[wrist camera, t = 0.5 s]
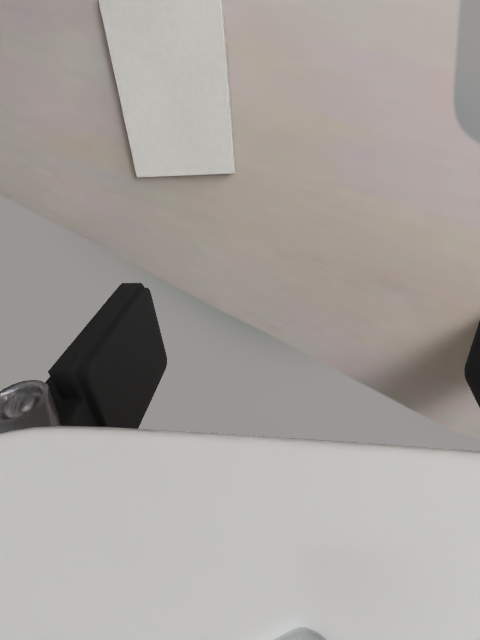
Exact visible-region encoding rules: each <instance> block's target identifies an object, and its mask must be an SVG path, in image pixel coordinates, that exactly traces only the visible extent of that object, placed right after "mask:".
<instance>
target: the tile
mask: <svg viewBox="0 0 480 640" xmlns="http://www.w3.org/2000/svg"><path fill="white" fill-rule="evenodd" d="M98 1H99V5H100V10H101V14H102V19H103V24H104V28H105V33H106V38H107V42H108V47H109V51H110V56H111V61H112V65H113V70H114V74H115V79H116V84H117V88H118V93H119V97H120V102H121V107H122V111H123V116H124V120H125V125H126V130H127V134H128V139H129V143H130V148H131V153H132V157H133V162H134V166H135V171H136V176H137V178H139V177H163V176H186V175H210V174H233V173H235V172H236V163H235V149H234V136H233V123H232V110H231V97H230V84H229V70H228V57H227V44H226V31H225V18H224V4H223V0H98Z"/></svg>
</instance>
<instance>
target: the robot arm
mask: <svg viewBox="0 0 480 640" xmlns="http://www.w3.org/2000/svg"><path fill="white" fill-rule="evenodd" d="M166 365H167V357H166V352H165V349H164V344H163V341H162V337H161V333H160V329H159V325H158V321H157V317H156V313H155V309H154V305H153V301H152V297H151V293H150V290H149V289H148V288H144V286H143V284H141V283H122V284H121V285H120V286H119V287H118V288H117V290H116V291H115V292H114V293H113V294H112V296H111V297H110V298H109V299H108V300H107V302H106V303H105V304H104V305H103V306H102V307H101V309H100V310H99V311H98V313H97V314H96V315H95V316H94V317H93V318H92V320H91V321H90V322H89V323H88V324H87V326H86V327H85V328H84V329H83V330H82V332H81V333H80V334H79V335H78V336H77V338H76V339H75V340H74V341H73V343H72V344H71V345H70V346H69V347H68V348H67V350H66V351H65V352H64V353H63V354H62V356H61V357H60V358H59V359H58V360H57V362H56V363H55V364H54V365H53V366H52V368H51V369H50V370H49V371H48V372H49V374H50V377H49V379H48V380H47V381H46V383H44V382H42V381H38V380H29V381H23V382H19V383H16V384H13V385H11V386H9V387H7V388H5V389H3V390H2V391H0V640H480V451H472V450H456V449H443V448H428V447H415V446H401V445H387V444H372V443H356V442H342V441H326V440H312V439H296V438H280V437H265V436H249V435H234V434H217V433H199V432H183V431H166V430H150V429H138V427H139V425H140V423H141V421H142V418H143V417H144V414H145V412H146V410H147V408H148V406H149V404H150V401H151V399H152V397H153V395H154V393H155V391H156V388H157V386H158V384H159V382H160V380H161V378H162V375H163V373H164V371H165V369H166ZM465 378H466V381H467V383H468V385H469V387H470V389H471V391H472V393H473V395H474V397H475V399H476V401H477V403H478V405H479V407H480V322H479V325H478V328H477V331H476V334H475V337H474V340H473V343H472V346H471V349H470V352H469V355H468V359H467V362H466V365H465Z"/></svg>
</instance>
